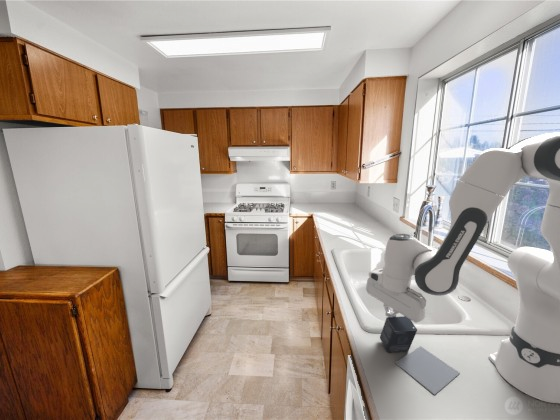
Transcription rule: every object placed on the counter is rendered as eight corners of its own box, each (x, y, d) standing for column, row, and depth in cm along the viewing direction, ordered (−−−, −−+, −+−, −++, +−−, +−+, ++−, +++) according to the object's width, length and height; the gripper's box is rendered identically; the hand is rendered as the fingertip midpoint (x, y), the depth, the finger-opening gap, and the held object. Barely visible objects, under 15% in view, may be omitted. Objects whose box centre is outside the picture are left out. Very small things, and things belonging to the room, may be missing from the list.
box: (399, 336, 87) (408, 315, 82) (408, 351, 82) (418, 330, 77) (378, 337, 86) (386, 316, 81) (386, 352, 81) (394, 331, 76)
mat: (420, 346, 84) (420, 346, 84) (459, 373, 74) (459, 372, 74) (395, 363, 77) (395, 362, 77) (434, 395, 67) (434, 394, 67)
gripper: (432, 294, 74) (425, 333, 77) (376, 267, 91) (372, 299, 94) (420, 299, 71) (413, 340, 74) (365, 270, 88) (361, 304, 91)
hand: (390, 317), depth 84 cm, fingers closed
